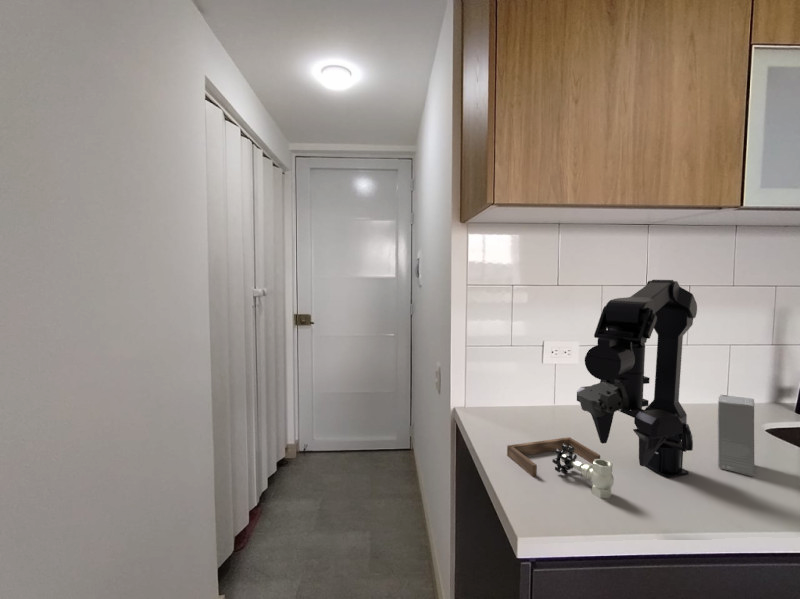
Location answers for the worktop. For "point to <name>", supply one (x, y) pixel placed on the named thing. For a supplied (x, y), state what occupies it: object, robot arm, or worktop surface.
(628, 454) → the worktop surface
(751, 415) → the skincare box
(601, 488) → the valve
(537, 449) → the carrier bracket
